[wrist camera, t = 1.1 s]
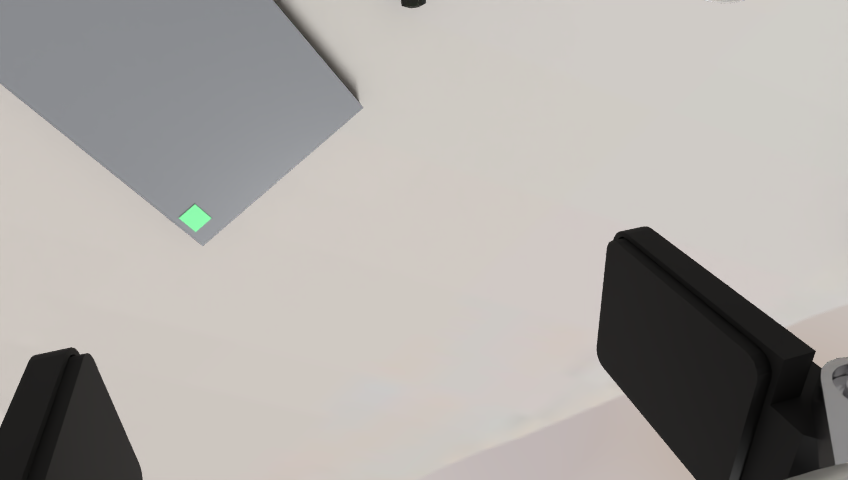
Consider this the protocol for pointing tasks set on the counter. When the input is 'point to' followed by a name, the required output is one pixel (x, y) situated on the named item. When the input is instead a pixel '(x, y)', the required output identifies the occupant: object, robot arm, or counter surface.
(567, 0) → the counter surface
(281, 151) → the charging dock
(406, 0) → the handheld radio
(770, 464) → the robot arm
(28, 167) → the counter surface
